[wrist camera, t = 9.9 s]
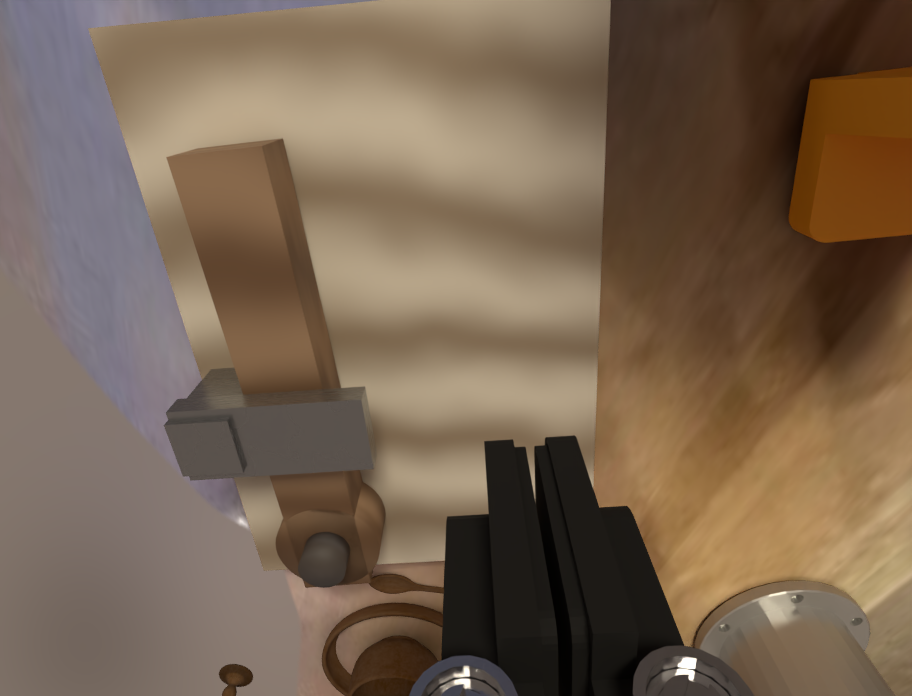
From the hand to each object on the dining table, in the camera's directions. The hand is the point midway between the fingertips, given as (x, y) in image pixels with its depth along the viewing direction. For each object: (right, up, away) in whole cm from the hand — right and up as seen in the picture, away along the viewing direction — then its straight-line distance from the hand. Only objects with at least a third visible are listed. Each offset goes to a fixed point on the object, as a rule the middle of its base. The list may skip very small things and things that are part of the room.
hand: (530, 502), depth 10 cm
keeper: (-10, +2, +23) cm, 25 cm away
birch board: (-5, +4, +22) cm, 22 cm away
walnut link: (-10, +1, +20) cm, 23 cm away
